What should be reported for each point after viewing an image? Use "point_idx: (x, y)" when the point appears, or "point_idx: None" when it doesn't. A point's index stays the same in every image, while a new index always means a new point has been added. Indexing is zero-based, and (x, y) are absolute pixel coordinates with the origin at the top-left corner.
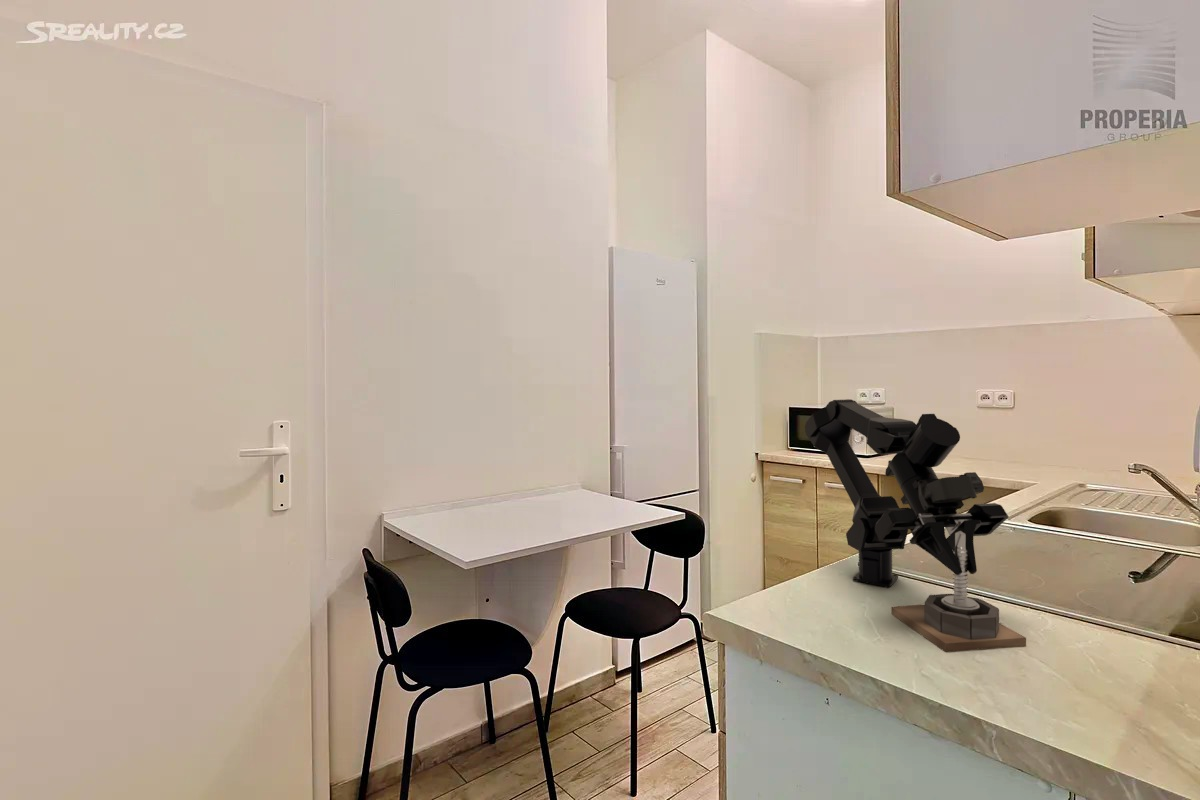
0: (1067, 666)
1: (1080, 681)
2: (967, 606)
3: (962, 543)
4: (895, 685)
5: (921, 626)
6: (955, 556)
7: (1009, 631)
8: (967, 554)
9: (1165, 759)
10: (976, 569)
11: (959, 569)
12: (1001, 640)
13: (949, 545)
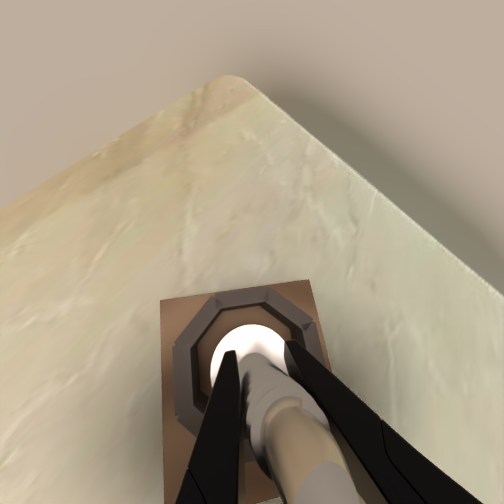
0: (154, 237)
1: (171, 201)
2: (254, 331)
3: (307, 417)
4: (392, 202)
5: (325, 350)
6: (317, 389)
7: (171, 328)
8: (249, 408)
9: (208, 95)
10: (224, 354)
11: (297, 342)
12: (209, 293)
13: (365, 461)
